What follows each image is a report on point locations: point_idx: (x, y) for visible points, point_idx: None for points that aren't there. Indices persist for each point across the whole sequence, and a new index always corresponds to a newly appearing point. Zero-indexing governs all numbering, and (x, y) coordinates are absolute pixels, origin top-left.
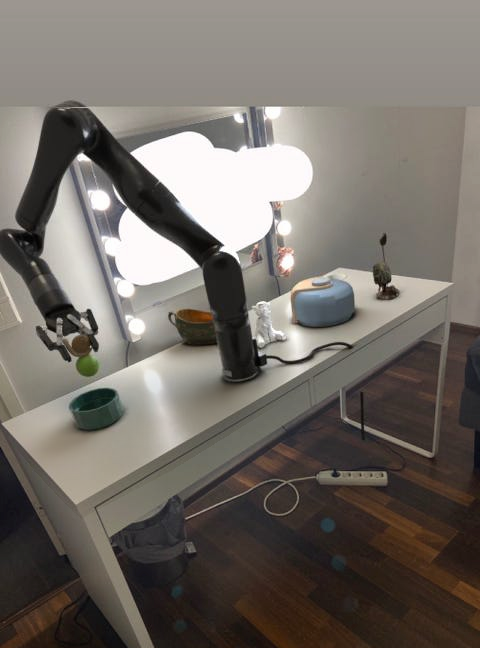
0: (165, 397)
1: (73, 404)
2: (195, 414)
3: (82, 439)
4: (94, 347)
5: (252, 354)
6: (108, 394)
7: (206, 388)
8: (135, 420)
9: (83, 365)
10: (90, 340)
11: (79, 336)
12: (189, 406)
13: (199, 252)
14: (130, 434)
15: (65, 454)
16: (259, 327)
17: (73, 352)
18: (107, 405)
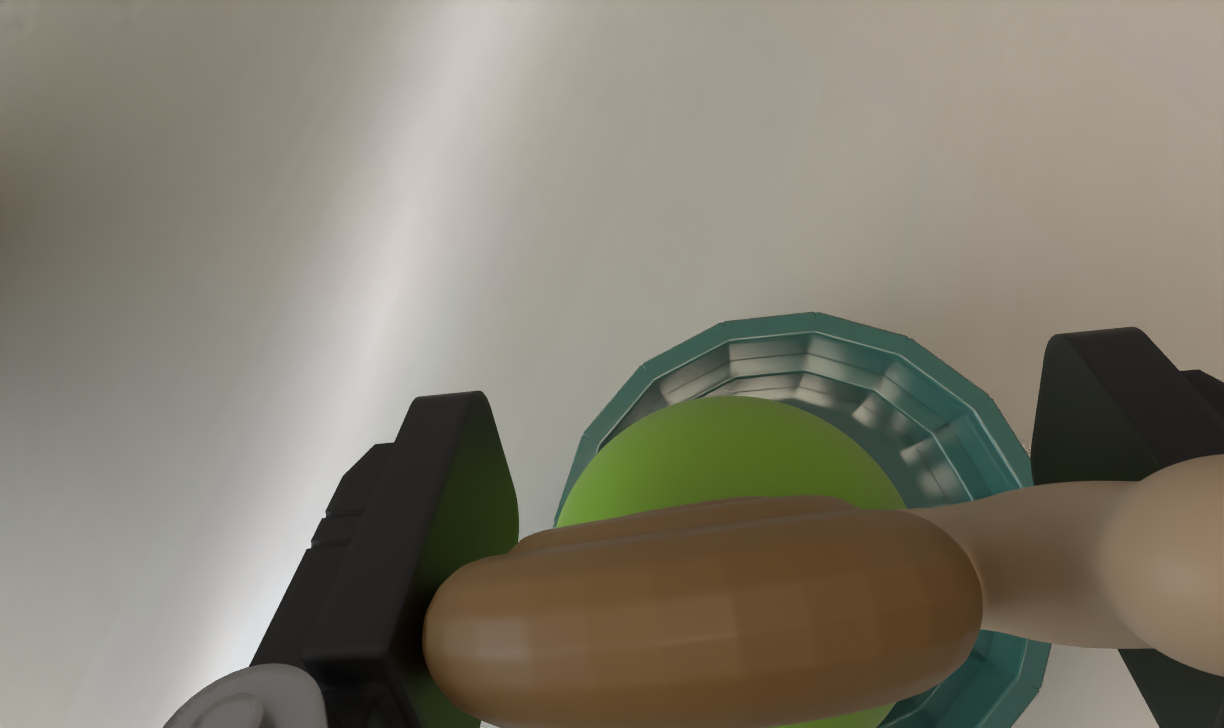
0: (281, 455)
1: (994, 686)
2: (269, 80)
3: (990, 327)
4: (477, 416)
5: None
6: None
7: (39, 345)
8: (580, 296)
9: (817, 423)
10: (431, 553)
11: (650, 558)
12: (241, 199)
13: None
14: (676, 140)
15: (1149, 211)
16: None
17: (958, 508)
18: (719, 324)
